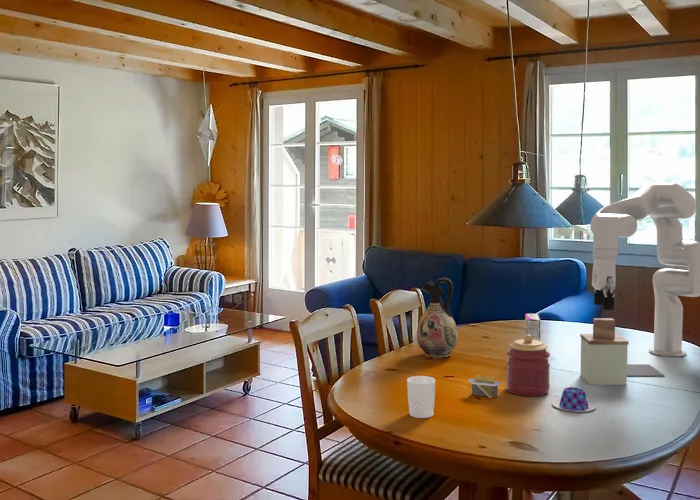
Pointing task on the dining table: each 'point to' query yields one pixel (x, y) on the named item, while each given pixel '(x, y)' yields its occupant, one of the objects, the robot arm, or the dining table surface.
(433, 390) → the white cup
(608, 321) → the lid
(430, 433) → the dining table surface
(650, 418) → the dining table surface
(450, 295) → the ceramic jug
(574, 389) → the pudding
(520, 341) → the canister
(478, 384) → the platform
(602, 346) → the box
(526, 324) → the candy bar box
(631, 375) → the mat
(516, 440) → the dining table surface
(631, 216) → the robot arm
